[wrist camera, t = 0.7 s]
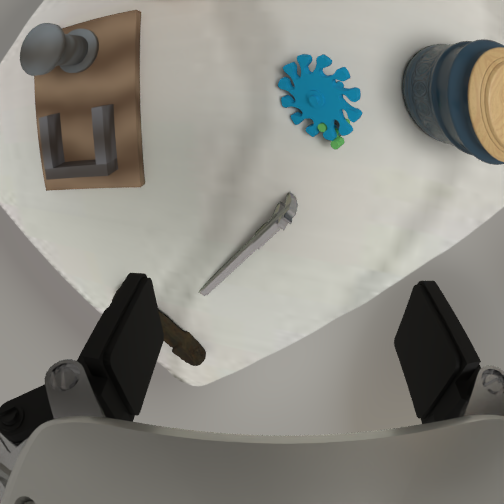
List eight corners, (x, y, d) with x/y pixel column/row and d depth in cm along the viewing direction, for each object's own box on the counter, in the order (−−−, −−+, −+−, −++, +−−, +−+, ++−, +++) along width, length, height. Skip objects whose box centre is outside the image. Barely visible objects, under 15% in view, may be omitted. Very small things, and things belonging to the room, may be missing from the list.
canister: (448, 29, 27) (539, 19, 11) (493, 111, 31) (582, 142, 16) (380, 75, 31) (458, 76, 16) (433, 158, 36) (514, 211, 20)
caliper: (289, 190, 40) (292, 208, 34) (295, 195, 40) (300, 214, 34) (199, 290, 48) (190, 317, 43) (204, 294, 48) (197, 321, 43)
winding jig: (41, 38, 29) (-6, 38, 20) (140, 12, 28) (103, -5, 20) (51, 187, 40) (11, 214, 31) (144, 183, 40) (112, 213, 31)
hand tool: (116, 287, 49) (105, 305, 45) (130, 275, 47) (119, 293, 43) (195, 356, 56) (190, 375, 52) (211, 348, 54) (207, 368, 50)
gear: (262, 65, 30) (339, 48, 23) (293, 53, 33) (365, 39, 26) (294, 150, 37) (368, 153, 30) (320, 131, 39) (389, 132, 32)
